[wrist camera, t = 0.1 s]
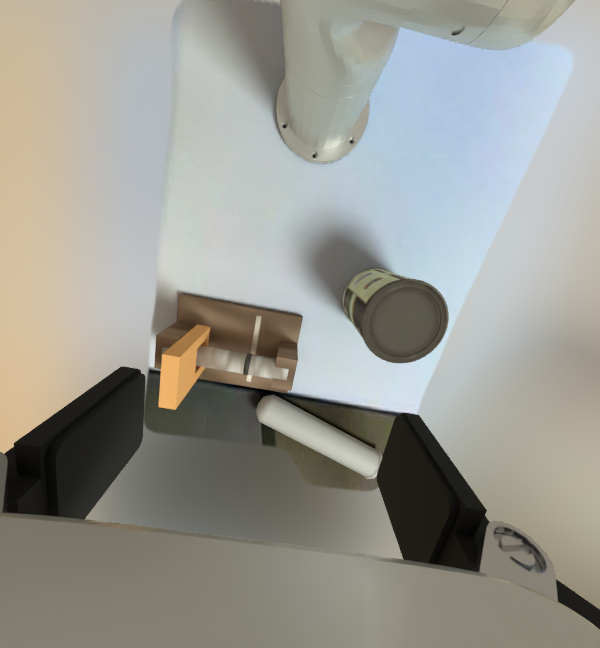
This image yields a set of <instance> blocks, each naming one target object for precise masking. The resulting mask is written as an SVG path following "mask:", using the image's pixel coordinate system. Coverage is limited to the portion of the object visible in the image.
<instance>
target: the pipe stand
mask: <svg viewBox="0 0 600 648" xmlns="http://www.w3.org/2000/svg"><path fill="white" fill-rule="evenodd" d="M302 318H303V317H302V316H299V315H293V314H288V313H283V312H277V311H272V310H267V309H261V308H256V307H251V306H245V305H240V304H234V303H229V302H224V301H218V300H213V299H208V298H202V297H197V296H192V295H186V294H180V295H179V300H178V312H177V322H176V323H174V324H173V325H171V326H170V327H168V328H167V329H165V330H164V331H162V332H161V333H159V334H158V335H156V351H155V368H158V369H161V364H162V354H163V353H164V352H165V351H166V350H168V349H169V348H170V347H171V346H172V345H174V344H175V343H176V342H177V341H178V340H180V339H181V338H182V337H183V336H184V335H185V334H187V333H188V332H189V331H190V330H191V329H193V328H194V327H195V326H196V325H197V324H198V325H203V326H209V327H210V333H209V342H208V347H206V346H199V348H198V349H197V359H196V366H200V367H206V368H205V369H204V370H203V372H202V373H201V375H200V376H199V377H198V378H200V379H206V380H212V381H218V382H224V383H230V384H236V385H242V386H248V387H254V388H260V389H266V390H272V391H278V392H284V393H287V391H288V390H289V391H291V389H292V385H293V380H294V375H295V370H296V366H297V361H298V355H297V343H298V338H299V333H300V328H301V323H302Z"/></svg>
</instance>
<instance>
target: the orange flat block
mask: <svg viewBox="0 0 600 648" xmlns="http://www.w3.org/2000/svg"><path fill="white" fill-rule="evenodd" d="M209 333H210V327H209V326H203V325H198V324H197V325H196V326H195V327H194V328H193V329H191V330H190V331H189V332H188V333H187V334H185V335H184V336H183V337H182V338H181V339H180V340H178V341H177V342H176V343H175V344H174V345H172V346H171V347H170V348H169V349H168V350H166V351H165V352H164V353H163V354H162V364H161V379H160V394H159V407H162V408H168V409H174V410H176V408H177V407H178V405H179V404H180V403H181V401H182V400H183V398H184V397H185V396H186V394H187V393H188V391H189V390H190V389H191V387H192V386H193V384H194V383H195V382H196V380H197V379H198V377H199V376H200V375H201V373H202V372H203V370H204V369H205V368H206V367H200V366H196V359H197V349H198V348H199V346H206V347H208V342H209Z"/></svg>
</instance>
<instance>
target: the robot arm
mask: <svg viewBox="0 0 600 648" xmlns="http://www.w3.org/2000/svg"><path fill="white" fill-rule="evenodd" d="M574 1H575V0H280V3H281V13H282V25H283V42H284V59H285V75H286V76H285V77H284V79H283V81H282V83H281V86H280V88H279V92H278V96H277V104H276V114H277V122H278V127H279V130H280V132H281V135H282V137H283V139H284V141H285V143H286V144H287V146H288V147H289V148H290V149H291V150H292V151H293V152H294V153H295V154H296V155H297V156H299V157H300V158H302V159H304V160H306V161H309V162H312V163H319V164H325V163H332V162H334V161H337V160H340V159H341V158H343V157H344V156H346V155H347V154H348V153H350V152H351V151H352V150H353V149H354V147H355V146H356V145H357V144H358V142H359V141H360V139H361V137H362V135H363V133H364V131H365V128H366V126H367V122H368V117H369V106H370V105H369V97H370V95H371V93H372V91H373V89H374V87H375V85H376V83H377V81H378V79H379V77H380V75H381V73H382V71H383V69H384V67H385V65H386V63H387V61H388V59H389V57H390V55H391V53H392V51H393V48H394V45H395V43H396V40H397V36H398V31H399V28H400V27H401V28H405V29H409V30H412V31H416V32H420V33H423V34H427V35H431V36H434V37H438V38H442V39H445V40H449V41H453V42H456V43H460V44H465V45H469V46H473V47H477V48H482V49H488V50H508V49H512V48H516V47H519V46H521V45H523V44H525V43H528V42H529V41H531V40H533V39H534V38H535V37H537V36H538V35H540V34H541V33H542V32H543V31H545V30H546V29H547V28H548V27H549V26H551V25H552V24H553V23H554V22H555V21H556V20H557V19H558V18H559V17H560V16H561V15H562V14H563V13H564V12H565V11H566V10H567V9H568V8H569V6H570V5H571V4H572V3H573V2H574ZM284 125H285V126H286V128H283V126H284ZM350 141H352V142H353V144H350ZM313 155H315V156H316V158H313V157H312V156H313ZM144 397H145V375H144V374H141V371H140V370H139V369H135V368H129V367H120V368H119V369H117V370H116V371H114V372H113V373H112V374H110V375H109V376H107V377H106V378H105V379H103V380H102V381H101V382H99V383H98V384H96V385H95V386H94V387H92V388H91V389H89V390H88V391H86V392H85V393H84V394H82V395H81V396H79V397H78V398H77V399H75V400H74V401H72V402H71V403H70V404H68V405H67V406H65V407H64V408H63V409H61V410H60V411H58V412H57V413H56V414H54V415H53V416H51V417H50V418H49V419H47V420H46V421H44V422H43V423H42V424H40V425H39V426H37V427H36V428H35V429H33V430H32V431H31V432H29V433H28V434H26V435H25V436H23V437H22V438H21V439H19V440H18V441H16V442H15V443H14V447H13V448H11V449H10V450H9V451H7V452H6V453H5V454H3V453H2V452H0V648H600V610H599V609H598V608H596V607H595V606H593V605H592V604H591V603H589V602H588V601H586V600H585V599H584V598H582V597H581V596H579V595H578V594H576V593H575V592H574V591H572V590H571V589H569V588H568V587H566V586H565V585H564V584H562V583H561V582H559V581H557V580H556V577H555V570H554V567H553V564H552V562H551V560H550V559H549V557H548V555H547V554H546V553H545V551H544V550H543V549H542V548H541V547H540V546H539V545H538V544H537V543H536V542H535V541H534V540H533V539H532V538H531V537H529V536H528V535H527V534H525V533H524V532H522V531H521V530H519V529H518V528H515V527H514V526H512V525H510V524H507V523H504V522H501V521H493V522H489V521H488V520H487V518H486V516H485V513H486V511H487V510H486V509H485V507H484V506H483V505H482V503H481V502H480V501H479V499H478V498H477V496H476V495H475V494H474V492H473V490H472V489H471V488H470V486H469V485H468V484H467V482H466V481H465V479H464V478H463V477H462V475H461V474H460V473H459V471H458V469H457V468H456V467H455V465H454V464H453V462H452V461H451V460H450V458H449V457H448V456H447V454H446V453H445V452H444V450H443V448H442V447H441V446H440V444H439V443H438V441H437V440H436V439H435V437H434V436H433V434H432V433H431V432H430V430H429V429H428V427H427V426H426V425H425V423H424V422H423V421H422V419H421V417H420V416H419V415H415V414H409V413H401V415H400V416H396V418H395V420H394V423H393V426H392V429H391V432H390V435H389V439H388V442H387V445H386V448H385V451H384V454H383V457H382V460H381V463H380V466H379V469H378V472H377V482H378V486H379V489H380V492H381V495H382V497H383V500H384V503H385V506H386V509H387V512H388V515H389V518H390V521H391V524H392V527H393V530H394V533H395V536H396V538H397V541H398V544H399V547H400V550H401V553H402V556H403V559H404V560H402V559H395V558H388V557H380V556H372V555H365V554H358V553H350V552H343V551H335V550H328V549H321V548H313V547H305V546H298V545H290V544H282V543H274V542H267V541H266V542H265V541H259V540H251V539H242V538H235V537H227V536H219V535H211V534H203V533H195V532H187V531H178V530H170V529H161V528H154V527H145V526H137V525H129V524H120V523H112V522H104V521H94V520H85V518H86V516H87V515H88V514H89V513H90V511H91V510H92V508H93V507H94V506H95V505H96V503H97V502H98V501H99V499H100V498H101V497H102V495H103V494H104V493H105V491H106V490H107V489H108V487H109V486H110V485H111V484H112V482H113V481H114V480H115V478H116V477H117V476H118V474H119V473H120V471H121V470H122V469H123V468H124V467H125V465H126V464H127V463H128V461H129V460H130V459H131V457H132V456H133V455H134V453H135V452H136V451H137V449H138V448H139V446H140V444H141V442H142V438H143V418H144Z"/></svg>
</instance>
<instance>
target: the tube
mask: <svg viewBox="0 0 600 648" xmlns="http://www.w3.org/2000/svg"><path fill="white" fill-rule="evenodd" d="M256 413H257V417H258V419H259V421H260V422H261V423H263V424H265V425H267V426H269V427H271V428H273V429H275V430H277V431H279V432H281V433H283V434H285V435H287V436H288V437H290V438H292V439H294V440H296V441H298V442H300V443H302V444H304V445H306V446H308V447H310V448H312V449H314V450H316V451H317V452H319V453H321V454H323V455H325V456H327V457H329V458H331V459H333V460H335V461H337V462H339V463H341V464H343V465H345V466H346V467H348V468H350V469H352V470H354V471H356V472H358V473H360V474H362V475H364V476H365V478H367V479H371V478H375V477H376V476H377V472H378V469H379V466H380V463H381V460H382V455H381V452H380V450H379V449H374V448H372V447H370V446H368V445H367V444H365V443H363V442H361V441H359V440H357V439H355V438H354V437H352V436H350V435H348V434H346V433H344V432H342V431H341V430H339V429H337V428H335V427H333V426H331V425H329V424H328V423H326V422H324V421H322V420H320V419H318V418H316V417H315V416H313V415H311V414H309V413H307V412H305V411H303V410H302V409H300V408H298V407H296V406H294V405H292V404H290V403H289V402H287V401H285V400H283V399H281V398H279V397H277V396H276V395H268V396H265V397H263V398H262V399H261V401H260V402H259V403H258V406H257V409H256Z"/></svg>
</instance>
